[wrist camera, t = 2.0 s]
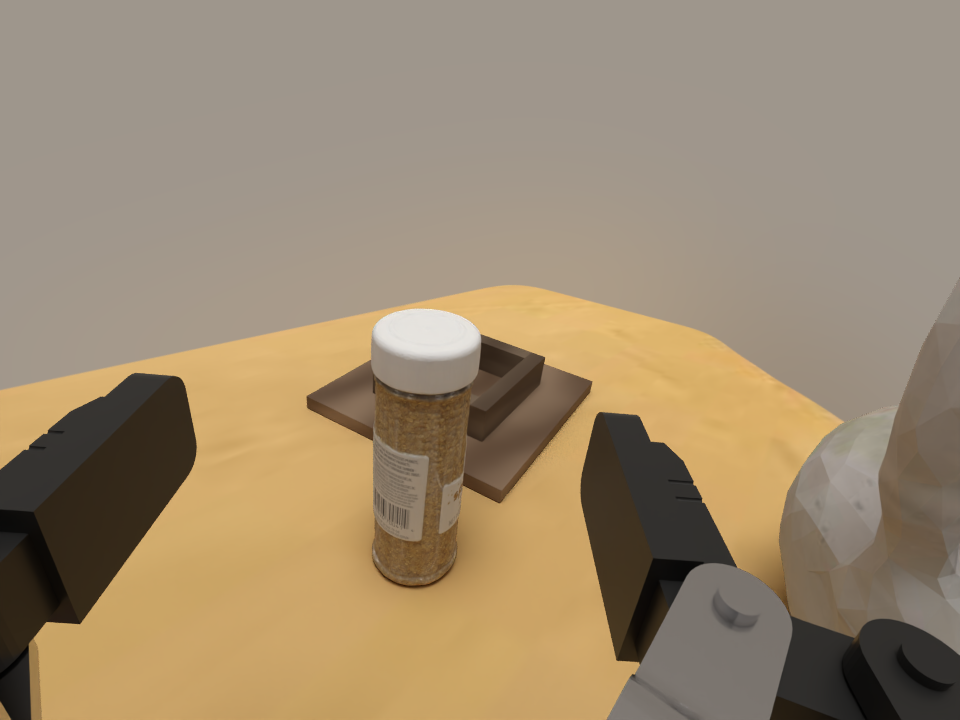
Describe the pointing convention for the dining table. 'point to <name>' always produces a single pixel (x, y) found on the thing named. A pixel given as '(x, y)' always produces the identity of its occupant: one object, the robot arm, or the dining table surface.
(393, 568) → the spice jar
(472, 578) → the dining table surface
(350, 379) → the walnut stand
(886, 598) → the ceramic pitcher
